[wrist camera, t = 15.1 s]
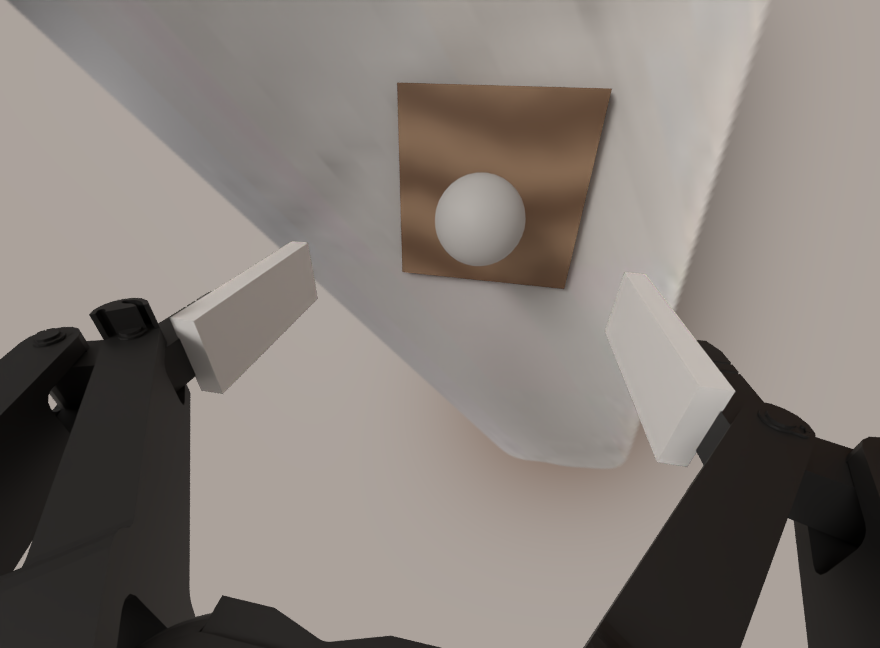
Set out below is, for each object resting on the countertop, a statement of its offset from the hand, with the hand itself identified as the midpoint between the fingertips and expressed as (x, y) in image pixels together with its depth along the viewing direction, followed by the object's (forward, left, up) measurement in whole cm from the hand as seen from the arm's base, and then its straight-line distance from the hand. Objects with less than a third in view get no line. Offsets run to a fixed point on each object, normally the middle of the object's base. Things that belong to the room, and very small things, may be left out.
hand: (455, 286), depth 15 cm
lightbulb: (0, 0, -19) cm, 19 cm away
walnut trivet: (0, 0, -20) cm, 20 cm away
